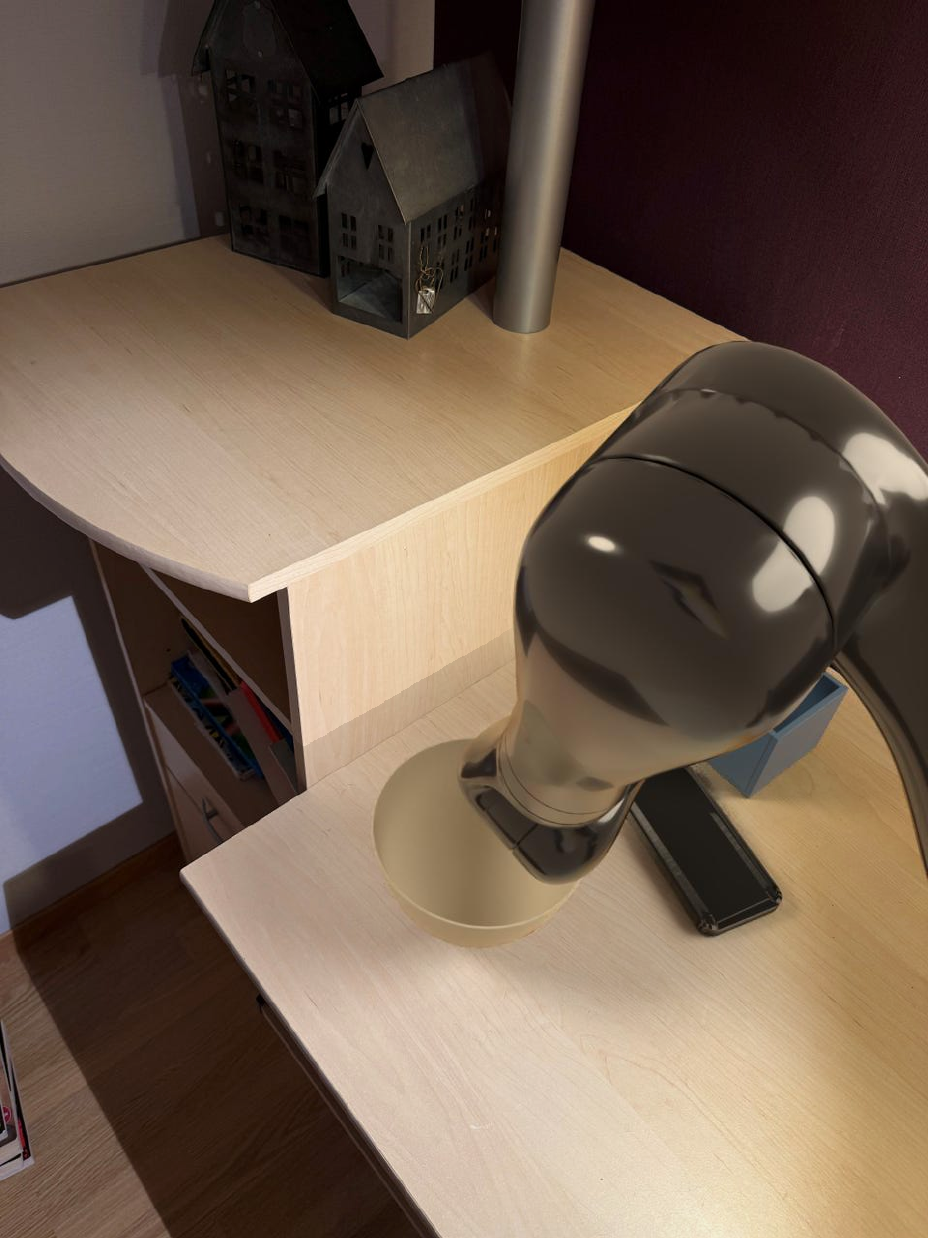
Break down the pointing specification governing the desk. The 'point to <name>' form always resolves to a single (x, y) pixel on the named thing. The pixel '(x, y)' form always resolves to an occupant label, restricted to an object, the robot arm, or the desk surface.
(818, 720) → the blue open storage bin
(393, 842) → the bowl
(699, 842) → the phone
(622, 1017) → the desk surface
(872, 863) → the desk surface
